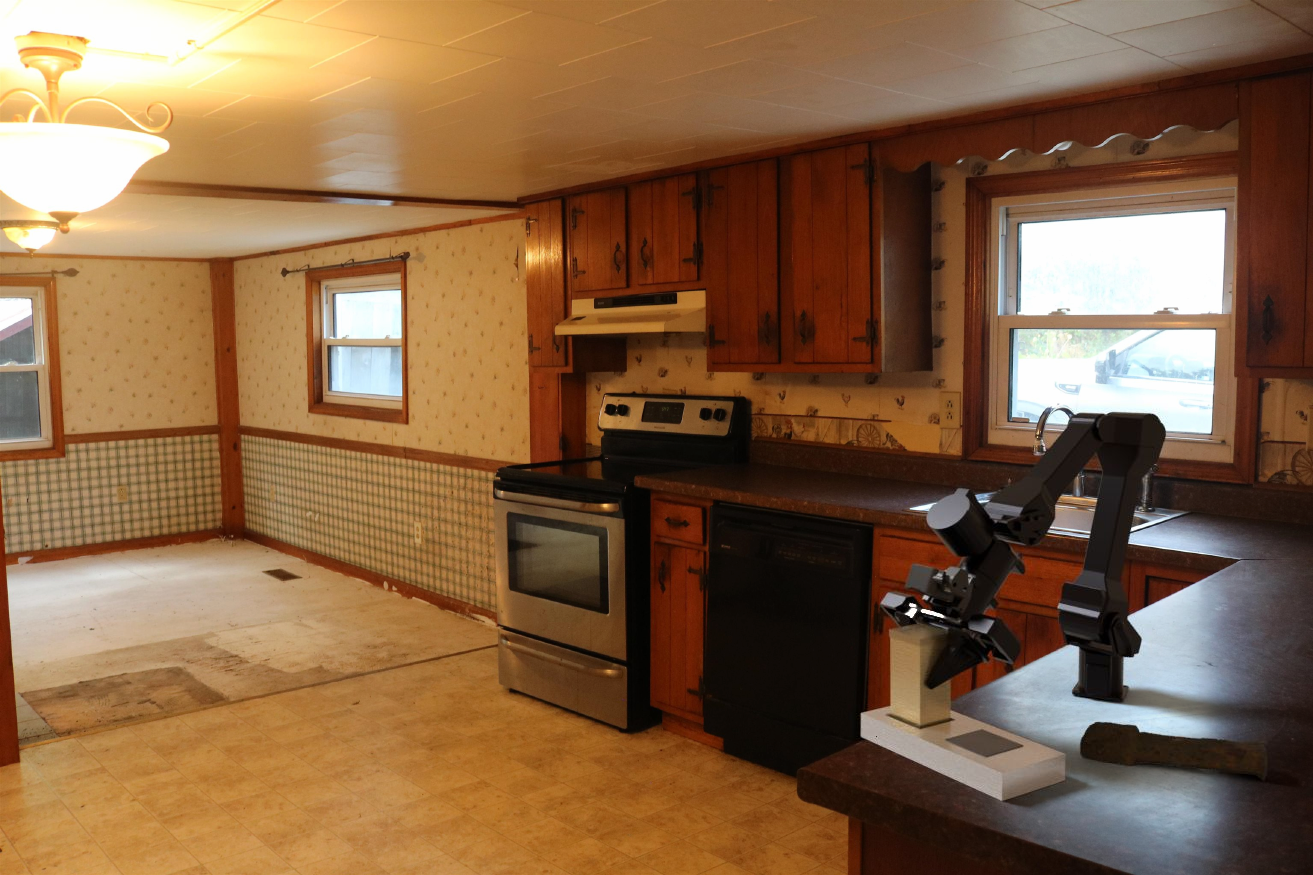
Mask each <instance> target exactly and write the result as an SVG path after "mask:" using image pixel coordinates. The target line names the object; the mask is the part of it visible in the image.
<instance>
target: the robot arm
mask: <svg viewBox="0 0 1313 875" xmlns="http://www.w3.org/2000/svg"><path fill="white" fill-rule="evenodd" d="M1166 438H1167V429H1166V427H1165V425H1164V424H1163V422H1162V421H1161V419H1160V418H1159V416H1158V415H1156V414H1155V413H1150V412H1132V411H1131V412H1126V411H1125V412H1124V411H1111V412H1110V411H1109V412H1108V413H1103V412H1101V413H1100V412H1099V413H1098V412H1078V413H1076V414H1073V415H1072V416H1070V417H1069V419H1068V421H1067V425H1066V427H1065V429H1064V430H1062V432H1061V433H1060V434H1059V436H1058V437H1057V438H1056V439H1055V441H1053V443H1052V444H1051V446H1050V447H1049V448H1048V449H1047V450H1046V452H1045V453H1044V454H1043V455H1042V457H1040V459H1039V460H1038V461H1037V463H1036V464H1035V465H1034V466H1033V467H1032V468H1031V469H1030V470H1029V472H1028V473H1027V474H1026V476H1024V477H1023V478H1022V479H1021V480H1019V481H1016V482H1014V483H1012V484H1010V485H1007V486H1006V487H1003V488H1002V489H1001V490H1000V491H999V492H997V494H995V495H994V496H992V497H991V498H990V499H989V500H988V501H987V502H986V504H985V505H984V506H983V505H982V504H981V503H980V501H979V500H978V498H977V496H976V493H974V491H973V490H972V489H970V488H964V487H963V488H962V487H957V489H956V491H955V492H954V494H950V495H947V496H945V497H943V498H941V499H940V500H938V501H937V502H936V503H934V504H932V505H931V506H930V508H929V509H928V511H927V514H926V522H927V525H928V526H929V527H930V529H931V530H932V531H933V532H934V533H935V534H936V536H937V537H938V538H939V539H940V541H941V542H942V543H943V545H944V546H945V547H946V548H947V549H948V551H949V552H950V553H951V554H952V555H953V556H955V557H959V558H961V560H960V562H959V563H958V564H957V566H956V567H955V566H953V565H952V566H949V567H948V568H947V569H945V570H941V569H938V568H934V567H930V566H926V565H922V564H917V563H912V564H911V566H910V570H909V573H908V576H907V579H906V582H905V584H904V588H905V589H906V590H909V591H911V590H913V591H915V592H917V593H919V594H922V595H923V596H922V598H921V600H922V601H923V602H924V603H925V604H926V605H928V606H929V607H930V609H929V610H928V609H926V608H924V606H923V605H922V604H921V603H920V602H919V600H918V599H917V598H916V597H915V596H914V595H911V594H908V593H903V592H900V591H895V590H894V591H889V592H887V593H886V595H885V596H884V597H883V599H882V600H881V601H880V604H879V606H880V607H881V608H882V610H883V611H884V612H885V613H886V615H888V617H890V619H892V621H893V622H894V623H895V624H896V626H898V628H899V627H904V626H909V625H914V624H919V623H922V624H925V625H928V626H932V627H935V628H939V629H942V630H946V631H948V637H947V645H946V647H945V649H944V650H943V652H942V654H941V655H940V657H939V659H938V660H937V662H936V664H935V665H934V667H933V669H932V671H931V672H930V674H929V676H928V679H927V681H926V683H925V685H926V686H927V687H928V688H929V689H931V690H932V689H934V688H936V687H937V686H939V685H941V684H943V683H944V682H946V681H948V680H949V679H953V678H954V677H956V676H958V675H960V674H962V673H963V672H965V671H968V670H970V669H972V668H974V667H976V666H979V665H981V664H983V663H985V664H988V663H990V661H991V658H990V657H989V654H990V653H991V655H992V657H993V658H994V660H997V661H999V662H1003V663H1006V664H1008V665H1009V664H1010V665H1014V664H1015V662H1016V661H1017V659H1018V657H1019V656H1020V654H1021V652H1022V643H1021V641H1020V639H1019V638H1018V637H1017V635H1016V634H1015V633H1014V632H1013V631H1012V629H1011V628H1010V627H1009V626H1008V624H1007V623H1006V622H1005V621H1004V620H1003V619H1002V618H999V617H995V616H992V615H991V616H990V615H989V614H988V615H987V614H986V611H987V610H988V609H991V610H994V611H996V610H997V608H998V606H999V605H1000V603H999V601H997V599H996V598H995V597H996V595H997V594H998V592H999V591H1000V589H1001V587H1002V586H1003V585H1004V583H1005V581H1006V580H1007V578H1008V576H1010V573H1012V574H1017V575H1021V576H1023V575H1025V574H1026V566H1025V563H1024V560H1023V553H1022V552H1018V551H1015V550H1013V548H1012V547H1011V545H1010V544H1011V543H1012V544H1016V545H1017V544H1018V545H1022V546H1032V547H1033V546H1037V545H1038V544H1040V543H1041V541H1043V539H1045V537H1046V536H1047V534H1048V532H1049V530H1050V529H1051V527H1052V525H1053V523H1054V522H1055V520H1056V504H1057V503H1058V501H1059V499H1060V498H1061V496H1062V495H1063V494H1064V493H1065V492H1066V491H1067V489H1068V488H1069V487H1070V485H1071V484H1072V483H1073V482H1074V480H1075V479H1076V478H1077V477H1078V476H1079V475H1080V473H1081V472H1082V470H1083V469H1084V468H1085V467H1086V465H1087V464H1088V463H1089V462H1090V461H1091V459H1092V458H1093V457H1094V456H1096V457H1097V461H1098V462H1099V466H1100V468H1101V470H1102V474H1101V478H1100V484H1099V488H1098V492H1097V496H1096V498H1097V499H1096V502H1095V508H1094V512H1093V517H1092V522H1091V527H1090V532H1089V537H1088V542H1087V546H1086V551H1085V555H1084V556H1085V557H1084V560H1083V565H1082V566H1083V567H1082V570H1081V572H1080V574H1079V575H1078V576H1077V577H1076V578H1075V579H1074V580H1073V581H1072V582H1070V581H1065V582H1064V583H1063V585H1062V586H1061V595H1060V600H1059V603H1058V606H1057V607H1056V610H1057V611H1058V616H1057V618H1058V624H1059V626H1060V630H1061V633H1062V638H1063V642H1064V644H1065V645H1068V646H1074V647H1077V648H1078V675H1077V676H1078V681H1077V682H1076V684H1074V687H1073V688H1072V689H1071V694H1072V695H1074V696H1079V697H1086V698H1094V699H1100V700H1105V701H1106V700H1108V701H1114V702H1119V703H1121V702H1124V701H1125V699H1126V697H1127V695H1128V692H1129V690H1130V686H1129V685H1125V684H1124V671H1125V670H1124V666H1125V665H1124V664H1125V662H1124V660H1125V658H1135V655H1137V654H1139V653H1140V650H1141V644H1142V640H1143V638H1142V637H1141V635H1140V634H1139V633H1138V631H1137V630H1136V628H1135V627H1134V626H1133V624H1132V623H1131V622H1130V620H1129V619H1128V618H1129V606H1130V604H1129V600H1128V597H1127V594H1126V593H1125V590H1124V587H1123V584H1122V575H1123V571H1124V567H1125V561H1126V557H1127V551H1128V546H1129V542H1130V537H1131V533H1132V532H1131V531H1132V526H1133V521H1134V517H1135V512H1136V507H1137V501H1138V497H1139V492H1140V487H1141V482H1142V480H1143V478H1144V477H1145V476H1146V475H1147V473H1149V471H1150V470H1152V468H1153V467H1154V466H1155V465H1156V464H1157V463H1158V462H1159V459H1160V456H1161V452H1162V450H1163V446H1164V444H1165V441H1166ZM1009 543H1010V544H1009Z"/></svg>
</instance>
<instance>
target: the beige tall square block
mask: <svg viewBox="0 0 1313 875" xmlns="http://www.w3.org/2000/svg"><path fill="white" fill-rule="evenodd" d="M888 637H889V638H890V643H889V644H890V648H889V649H890V650H889V651H890V652H889V654H890V657H889V658H890V661H889V662H890V663H889V664H890V670H889V671H890V672H889V673H890V706H891V718H893V719H896V720H898V721H901V722H903V723H905V724H908V725H910V726H913V727H915V728H917V729H923V728H927V727H931V726H935V725H939V724H943V723H946V722H950V721H951V711H952V709H951V705H952V704H951V700H952V699H951V698H952V697H951V694H952V693H951V692H952V691H951V690H952V688H951V687H952V686H951V684H952V683H951V681H952V680H951V679H952V678H951V679H949V680H948V681H946V682H944V683H943V684H941V685H939V686H937V687H936V688H934V689H932V690H931V689H929V688H928V687H927V686H926V685H925V683H926V681H927V679H928V676H929V674H930V672H931V671H932V669H933V667H934V665H935V664H936V662H937V660H938V659H939V657H940V655H941V654H942V652H943V650H944V649H945V647H946V645H947V637H948V631H946V630H942V629H939V628H935V627H932V626H928V625H925V624H922V623H919V624H914V625H909V626H904V627H899V626H898V627H894V628H889V630H888Z"/></svg>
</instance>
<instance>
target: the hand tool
mask: <svg viewBox="0 0 1313 875" xmlns="http://www.w3.org/2000/svg"><path fill="white" fill-rule="evenodd" d="M1079 754H1080V756H1082V757H1083V758H1087V759H1091V760H1094V761H1098V762H1101V763H1108V764H1117V765H1123V766H1126V767H1127V766H1128V767H1135V766H1136V765H1138V764H1153V765H1161V766H1162V765H1163V766H1173V767H1184V768H1192V769H1199V770H1206V771H1207V770H1208V771H1216V772H1223V773H1229V774H1235V775H1242V774H1243V775H1251V776H1256V777H1258V778H1259V780H1261V781H1265V780H1266V778H1267V775H1268V772H1267V770H1268V752H1267V749H1266V746H1265V743H1264V742H1263V741H1261V740H1254V741H1250V742H1247V741H1245V742H1242V741H1234V740H1228V739H1222V738H1220V739H1218V738H1214V737H1213V738H1211V737H1209V738H1208V737H1201V738H1198V737H1188V736H1176V735H1170V734H1167V735H1166V734H1161V733H1160V734H1159V733H1154V732H1153V733H1152V732H1148V731H1140V729H1139V728H1138V726H1137V725H1136V724H1124V723H1123V724H1121V723H1116V722H1110V721H1095V722H1093V723H1092V724H1089V726H1087V728H1086V730H1085V732H1084V733H1083V735H1082V737H1081V738H1080V743H1079Z"/></svg>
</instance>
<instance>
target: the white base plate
mask: <svg viewBox="0 0 1313 875" xmlns="http://www.w3.org/2000/svg"><path fill="white" fill-rule="evenodd" d="M876 736H877V737H876ZM860 737H861V738H863V739H865V740H867V741H869V742H872V743H874V744H876V745H879V746H880V747H882V748H885V749H887V750H890V751H892V752H893V753H896V754H898V755H900V756H902V757H904V758H907V759H909V760H911V761H914V762H916V763H918V764H919V765H922V766H924V767H926V768H929V769H931V770H933V771H935V772H938V773H940V774H941V775H944V776H946V777H948V778H950V779H953V780H955V781H958V782H960V783H961V784H963V785H966V786H968V787H970V788H973V789H974V790H977V791H979V792H981V793H983V794H986V795H988V796H990V797H993V798H994V799H997V800H999V801H1001V802H1003V801H1006V800H1010V799H1012V798H1016V797H1019V796H1022V795H1025V794H1028V793H1030V792H1031V793H1032V792H1034V791H1037V790H1039V789H1043V788H1046V787H1049V786H1052V785H1055V784H1059V783H1062V782H1064V781H1066V753H1065V752H1061V751H1059V750H1056V749H1054V748H1052V747H1048V746H1046V745H1043V744H1041V743H1038V742H1035V741H1033V740H1030V739H1027V738H1024V737H1023V736H1019V735H1017V734H1015V733H1011V732H1009V731H1006V730H1004V729H1001V728H998V727H995V726H993V725H990V724H988V723H986V722H983V721H980V720H977V719H974V718H972V717H970V716H967V715H964V714H961V713H959V712H956V711H954V710H951V721H950V722H946V723H943V724H939V725H935V726H931V727H927V728H923V729H917V728H915V727H913V726H910V725H908V724H905V723H903V722H901V721H898V720H896V719H893V718H891V705H889V706H884V707H881V708H877V709H873V710H872V709H871V710H868V711H864V712H861V713H860Z"/></svg>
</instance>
